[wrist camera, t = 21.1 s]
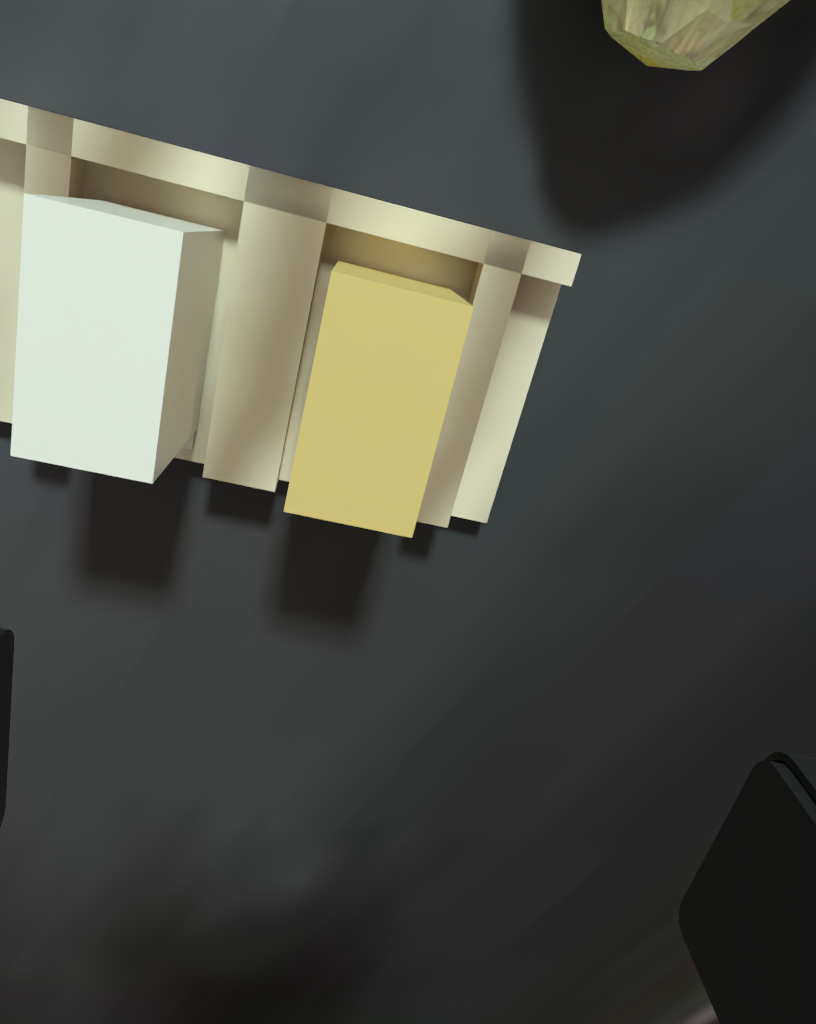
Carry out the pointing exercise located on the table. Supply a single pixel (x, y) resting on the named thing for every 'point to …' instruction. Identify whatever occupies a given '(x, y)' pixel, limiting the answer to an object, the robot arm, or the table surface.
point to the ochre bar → (376, 399)
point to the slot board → (296, 295)
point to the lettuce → (683, 28)
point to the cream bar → (110, 335)
